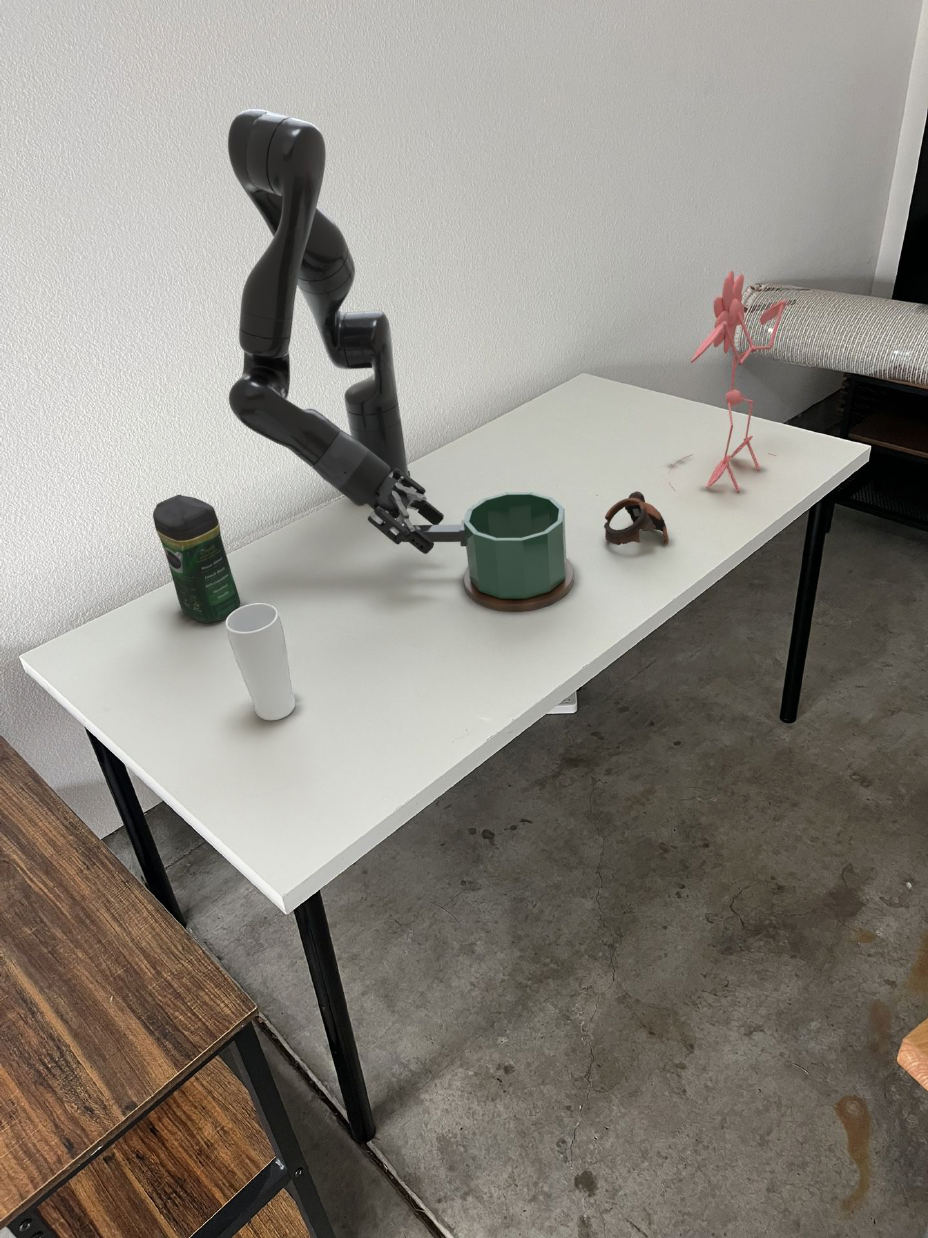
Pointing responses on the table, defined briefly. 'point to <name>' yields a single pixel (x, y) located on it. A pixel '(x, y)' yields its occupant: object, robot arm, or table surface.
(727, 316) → the figurine
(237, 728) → the table surface
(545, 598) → the disc
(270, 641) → the drinking glass
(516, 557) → the pot
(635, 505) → the brown ring-shaped piece
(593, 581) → the table surface
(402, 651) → the table surface
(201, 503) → the coffee jar
